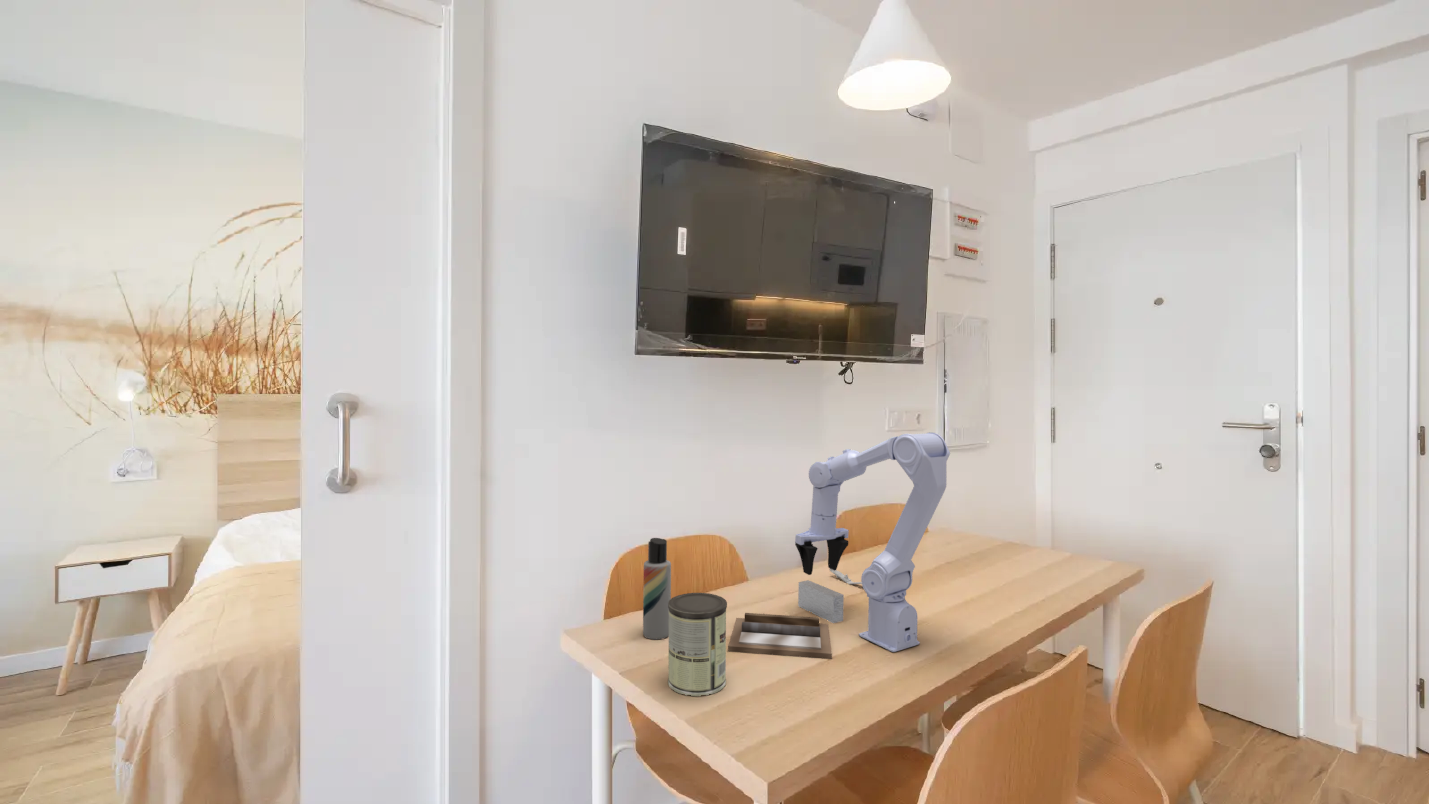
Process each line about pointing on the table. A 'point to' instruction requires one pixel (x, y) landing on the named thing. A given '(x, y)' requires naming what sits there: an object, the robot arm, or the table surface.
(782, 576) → the table surface
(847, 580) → the bracket
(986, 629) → the table surface
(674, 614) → the coffee can
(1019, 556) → the table surface
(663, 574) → the lotion bottle
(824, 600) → the grey speckled stone slab
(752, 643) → the hinge base
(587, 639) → the table surface
